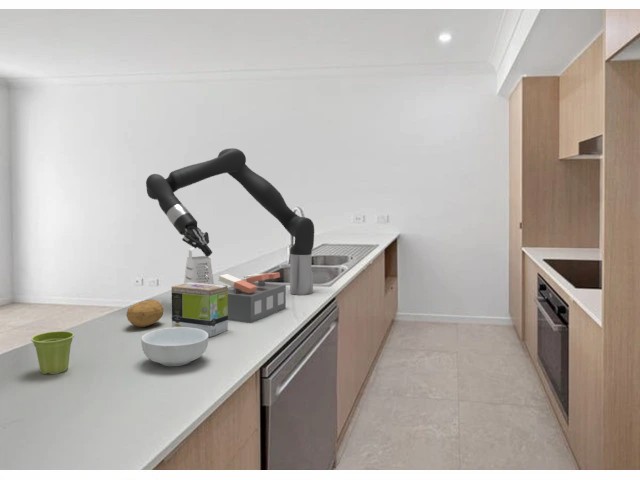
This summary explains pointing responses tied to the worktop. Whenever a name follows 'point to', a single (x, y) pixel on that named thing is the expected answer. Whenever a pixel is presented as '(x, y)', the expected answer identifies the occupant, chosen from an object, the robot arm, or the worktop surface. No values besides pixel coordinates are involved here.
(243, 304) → the switch console
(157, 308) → the potato
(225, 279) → the rocker
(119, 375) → the worktop surface
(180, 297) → the tea box
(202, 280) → the grater
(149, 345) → the cereal bowl
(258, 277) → the block
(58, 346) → the plant pot
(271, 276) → the block
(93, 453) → the worktop surface
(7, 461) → the worktop surface
